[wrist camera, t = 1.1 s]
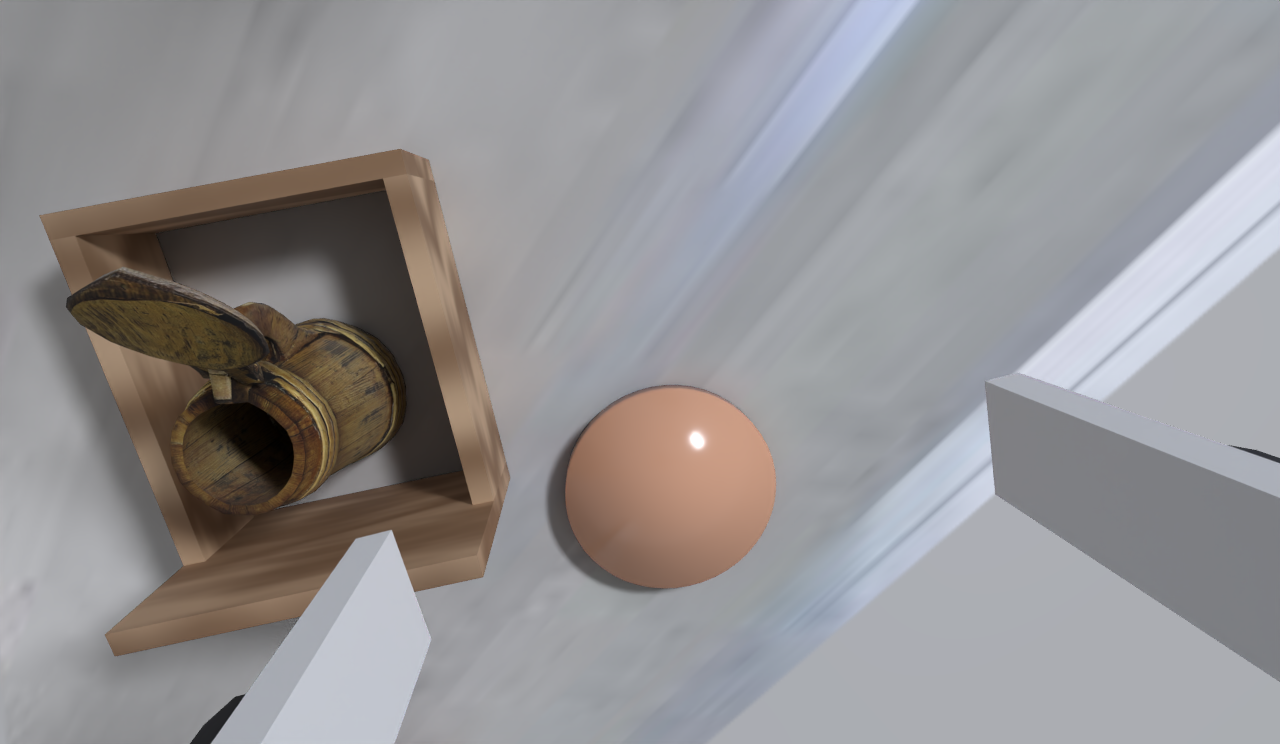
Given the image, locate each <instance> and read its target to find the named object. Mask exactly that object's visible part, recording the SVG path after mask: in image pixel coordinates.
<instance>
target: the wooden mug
mask: <svg viewBox="0 0 1280 744" xmlns="http://www.w3.org/2000/svg"><path fill="white" fill-rule="evenodd" d="M66 308H67V309H68V310H69V311H70V313H71V314H72V315H73V316H74V318H75V319H76V320H77V321H78V322H79V323H80V324H81V325H82V326H84V327H86V328H87V329H89V330H91V331H92V332H94V333H96V334H98V335H99V336H101V337H103V338H105V339H106V340H108V341H110V342H112V343H115V344H117V345H120V346H123V347H125V348H128V349H130V350H133V351H136V352H139V353H142V354H145V355H148V356H150V357H154V358H158V359H163V360H167V361H171V362H175V363H179V364H184V365H189V366H190V367H192V368H193V369H195V370H196V371H197V372H198V373H199V374H200V375H201V376H202V377H203V378H205V379H210V380H208V381H207V382H206V383H205V384H204V385H203V386H202V387H201V388H200V389H199V390H198V391H197V393H196V394H195V395H194V396H193V397H192V398H191V400H190V401H189V402H188V404H187V407H186V409H185V411H184V412H183V413H182V414H181V415H180V416H178V418H177V421H176V423H175V425H174V427H173V430H172V434H171V442H170V448H171V459H172V465H173V467H174V470H175V472H176V474H177V477H178V479H179V482H180V483H181V484H182V485H183V486H184V487H185V488H186V489H187V490H188V491H189V493H190V494H192V495H193V496H195V497H196V498H197V499H199V500H200V501H202V502H203V503H204V504H206V505H207V506H209V507H211V508H213V509H215V510H217V511H219V512H221V513H223V514H233V515H258V514H262V513H265V512H269V511H272V510H273V509H275V508H277V507H280V506H284V505H287V504H290V503H293V502H296V501H298V500H301V499H302V498H304V497H306V496H307V495H309V494H311V493H313V492H314V491H316V490H317V489H318V488H319V487H320V486H321V485H322V484H323V483H324V482H325V481H326V480H327V479H328V477H329V476H330V475H332V474H333V473H335V472H337V471H338V470H340V469H342V468H343V467H345V466H347V465H348V464H350V463H354V462H356V461H358V460H360V459H362V458H364V457H366V456H368V455H370V454H372V453H374V452H376V451H377V450H379V449H381V448H382V447H383V446H384V445H385V444H386V443H388V442H389V441H390V440H391V439H392V438H393V437H394V436H395V434H396V433H397V431H398V429H399V428H400V426H401V425H402V423H403V420H404V415H405V410H406V390H405V384H404V381H403V377H402V373H401V371H400V369H399V367H398V365H397V363H396V361H395V359H394V357H393V355H392V354H391V353H390V352H389V351H388V350H387V349H386V348H385V346H384V345H383V344H382V343H381V342H380V341H379V340H378V339H377V338H375V337H374V336H372V335H370V334H368V333H366V332H365V331H363V330H361V329H359V328H357V327H355V326H352V325H348V324H345V323H342V322H339V321H336V320H330V319H325V318H320V319H311V320H308V321H305V322H302V323H298V324H296V325H295V324H293V323H292V322H291V321H290V320H288V319H287V318H286V317H285V316H284V315H282V314H281V313H279V312H278V311H276V310H275V309H273V308H271V307H270V306H268V305H265V304H262V303H253V302H248V303H246V304H243V305H241V306H239V307H236V308H234V309H233V308H231V307H230V306H228V305H226V304H224V303H222V302H220V301H218V300H216V299H214V298H212V297H210V296H208V295H206V294H204V293H202V292H199V291H197V290H194V289H192V288H189V287H187V286H184V285H182V284H179V283H176V282H173V281H169V280H166V279H163V278H159V277H156V276H153V275H149V274H146V273H143V272H139V271H136V270H133V269H129V268H126V267H121V268H119V269H116V270H114V271H111V272H109V273H107V274H104V275H103V276H101V277H99V278H98V279H96V280H95V281H93V282H91V283H90V284H88V285H86V286H85V287H83V288H82V289H80V290H78V291H77V292H75V293H74V294H72V295H71V296H70V297H68V298H67V303H66Z"/></svg>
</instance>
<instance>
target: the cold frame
mask: <svg viewBox="0 0 1280 744" xmlns="http://www.w3.org/2000/svg"><path fill="white" fill-rule="evenodd" d="M384 190H386V191H387V195H388V199H389V202H390V206H391V210H392V213H393V217H394V220H395V224H396V228H397V231H398V235H399V239H400V242H401V246H402V250H403V253H404V257H405V260H406V264H407V268H408V271H409V275H410V279H411V282H412V286H413V289H414V293H415V297H416V300H417V304H418V308H419V311H420V315H421V319H422V322H423V326H424V329H425V333H426V337H427V340H428V344H429V348H430V351H431V355H432V358H433V362H434V366H435V369H436V373H437V377H438V380H439V384H440V388H441V391H442V395H443V398H444V402H445V406H446V409H447V413H448V417H449V420H450V424H451V427H452V431H453V435H454V438H455V442H456V446H457V449H458V453H459V457H460V460H461V464H462V467H463V470H462V471H458V472H453V473H448V474H443V475H438V476H433V477H429V478H424V479H419V480H414V481H409V482H405V483H400V484H395V485H390V486H385V487H380V488H376V489H371V490H366V491H361V492H356V493H352V494H347V495H342V496H337V497H332V498H327V499H323V500H318V501H313V502H308V503H303V504H299V505H294V506H289V507H284V508H279V509H275V510H272V511H269V512H265V513H262V514H258V515H233V514H223V513H221V512H219V511H217V510H215V509H213V508H211V507H209V506H207V505H206V504H204V503H203V502H202V501H200V500H199V499H197V498H196V497H195V496H193V495H192V494H190V493H189V491H188V490H187V489H186V488H185V487H184V486H183V485H182V484H181V483H180V482H179V479H178V477H177V474H176V472H175V470H174V467H173V465H172V459H171V448H170V442H171V434H172V430H173V427H174V425H175V423H176V421H177V418H178V416H180V415H181V414H182V413H183V412H184V411H185V409H186V407H187V404H188V402H189V401H190V400H191V398H192V397H193V396H194V395H195V394H196V393H197V391H198V390H199V389H200V388H201V387H202V386H203V385H204V384H205V383H206V382H207V381H208V380H210V379H205V378H203V377H202V376H201V375H200V374H199V373H198V372H197V371H196V370H195V369H193V368H192V367H190V366H189V365H184V364H179V363H175V362H171V361H167V360H163V359H158V358H154V357H150V356H148V355H145V354H142V353H139V352H136V351H133V350H130V349H128V348H125V347H123V346H120V345H117V344H115V343H112V342H110V341H108V340H106V339H105V338H103V337H101V336H99V335H98V334H96V333H94V332H92V331H91V330H89V329H87V328H86V330H87V332H88V335H89V337H90V340H91V342H92V344H93V347H94V349H95V352H96V354H97V357H98V359H99V361H100V364H101V366H102V369H103V371H104V374H105V376H106V378H107V381H108V383H109V386H110V388H111V391H112V393H113V395H114V398H115V400H116V403H117V405H118V408H119V410H120V412H121V415H122V417H123V420H124V422H125V425H126V427H127V429H128V432H129V434H130V437H131V439H132V442H133V444H134V446H135V449H136V451H137V454H138V456H139V459H140V461H141V463H142V466H143V468H144V471H145V473H146V476H147V478H148V480H149V483H150V485H151V488H152V490H153V493H154V495H155V497H156V500H157V502H158V505H159V507H160V510H161V512H162V514H163V517H164V519H165V522H166V524H167V527H168V529H169V531H170V534H171V536H172V539H173V541H174V544H175V546H176V548H177V551H178V553H179V556H180V558H181V561H182V563H183V565H184V566H183V567H182V568H181V569H180V570H178V571H177V572H176V573H175V574H174V575H173V576H172V577H170V578H169V579H168V580H167V581H166V582H165V583H163V584H162V585H161V586H160V587H159V588H158V589H157V590H155V591H154V592H153V593H152V594H151V595H150V596H149V597H147V598H146V599H145V600H144V601H143V602H142V603H141V604H139V605H138V606H137V607H136V608H135V609H134V610H133V611H131V612H130V613H129V614H128V615H127V616H126V617H124V618H123V619H122V620H121V621H120V622H119V623H118V624H116V625H115V626H114V627H113V628H112V629H111V630H110V631H108V632H107V633H106V634H105V636H106V638H107V641H108V643H109V645H110V647H111V649H112V651H113V654H114V656H119V655H124V654H129V653H133V652H138V651H143V650H147V649H152V648H156V647H161V646H166V645H170V644H175V643H180V642H184V641H189V640H194V639H198V638H203V637H207V636H212V635H217V634H221V633H226V632H231V631H235V630H240V629H245V628H249V627H254V626H259V625H263V624H268V623H272V622H277V621H282V620H286V619H291V618H296V617H300V616H301V615H302V614H303V613H304V611H305V610H306V608H307V607H308V606H309V604H310V603H311V601H312V600H313V599H314V597H315V596H316V594H317V593H318V591H319V590H320V589H321V587H322V586H323V584H324V583H325V582H326V580H327V579H328V577H329V576H330V574H331V573H332V572H333V570H334V569H335V567H336V566H337V565H338V563H339V562H340V560H341V559H342V558H343V556H344V555H345V553H346V552H347V550H348V549H349V548H350V546H351V545H352V543H353V542H354V541H355V539H357V538H361V537H365V536H369V535H373V534H377V533H381V532H385V531H389V530H392V532H393V535H394V538H395V541H396V543H397V546H398V549H399V552H400V554H401V557H402V560H403V563H404V565H405V568H406V571H407V574H408V576H409V579H410V582H411V585H412V587H413V590H414V592H416V591H421V590H426V589H430V588H435V587H440V586H444V585H449V584H454V583H458V582H463V581H467V580H472V579H477V578H481V577H483V576H484V572H485V569H486V565H487V561H488V558H489V554H490V550H491V547H492V543H493V539H494V536H495V532H496V528H497V525H498V521H499V517H500V514H501V510H502V506H503V503H504V499H505V495H506V492H507V488H508V484H509V481H510V475H509V471H508V467H507V464H506V460H505V456H504V452H503V448H502V444H501V440H500V436H499V432H498V428H497V424H496V421H495V417H494V413H493V409H492V405H491V401H490V397H489V393H488V389H487V385H486V382H485V378H484V374H483V370H482V366H481V362H480V358H479V354H478V350H477V346H476V343H475V339H474V335H473V331H472V327H471V323H470V319H469V315H468V311H467V307H466V303H465V300H464V296H463V292H462V288H461V284H460V280H459V276H458V272H457V268H456V264H455V261H454V257H453V253H452V249H451V245H450V241H449V237H448V233H447V229H446V225H445V221H444V218H443V214H442V210H441V206H440V202H439V198H438V194H437V190H436V186H435V182H434V179H433V175H432V171H431V167H430V163H429V160H427V159H425V158H422V157H420V156H417V155H415V154H412V153H410V152H407V151H404V150H402V149H397V150H392V151H386V152H381V153H375V154H370V155H364V156H359V157H354V158H348V159H343V160H337V161H332V162H326V163H321V164H316V165H310V166H305V167H299V168H294V169H289V170H283V171H278V172H272V173H267V174H261V175H256V176H251V177H245V178H240V179H234V180H229V181H223V182H218V183H213V184H207V185H202V186H196V187H191V188H185V189H180V190H175V191H169V192H164V193H158V194H153V195H147V196H142V197H137V198H131V199H126V200H120V201H115V202H109V203H104V204H99V205H93V206H88V207H82V208H77V209H72V210H66V211H61V212H55V213H50V214H44V215H39V216H40V218H41V221H42V223H43V225H44V228H45V230H46V233H47V235H48V238H49V240H50V242H51V245H52V247H53V250H54V252H55V255H56V257H57V259H58V262H59V264H60V267H61V269H62V272H63V274H64V276H65V279H66V281H67V284H68V286H69V289H70V291H71V293H72V294H74V293H75V292H77V291H78V290H80V289H82V288H83V287H85V286H86V285H88V284H90V283H91V282H93V281H95V280H96V279H98V278H99V277H101V276H103V275H104V274H107V273H109V272H111V271H114V270H116V269H119V268H121V267H126V268H129V269H133V270H136V271H139V272H143V273H146V274H149V275H153V276H156V277H159V278H163V279H166V280H169V281H173V279H172V277H171V274H170V271H169V268H168V266H167V263H166V260H165V258H164V255H163V252H162V250H161V247H160V244H159V241H158V239H157V236H156V233H159V232H165V231H170V230H175V229H181V228H186V227H191V226H197V225H202V224H208V223H213V222H218V221H224V220H229V219H234V218H240V217H245V216H250V215H256V214H261V213H266V212H272V211H277V210H282V209H288V208H293V207H298V206H304V205H309V204H314V203H320V202H325V201H330V200H336V199H341V198H347V197H352V196H357V195H363V194H368V193H373V192H379V191H384Z"/></svg>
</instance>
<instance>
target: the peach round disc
mask: <svg viewBox="0 0 1280 744" xmlns="http://www.w3.org/2000/svg"><path fill="white" fill-rule="evenodd" d="M775 493H776V476H775V469H774V464H773V459H772V456H771V454H770V451H769V448H768V446H767V444H766V442H765V441H764V439H763V437H762V435H761V434H760V433H759V431H758V430H757V429H756V427H755V426H754V425H753V423H752V422H751V421H750V420H749V419H748V418H747V417H746V416H745V415H744V414H743V413H742V412H741V410H740V409H738V408H737V407H736V406H734V405H733V404H732V403H730V402H729V401H727V400H726V399H724V398H722V397H720V396H719V395H717V394H714V393H712V392H709V391H707V390H703V389H699V388H695V387H691V386H682V385H662V386H655V387H649V388H646V389H642V390H638V391H635V392H633V393H631V394H628V395H626V396H624V397H622V398H620V399H618V400H617V401H615V402H613V403H612V404H610V405H609V406H608V407H606V408H605V409H604V410H602V411H601V412H600V413H599V414H598V415H597V416H596V417H595V418H594V419H593V420H592V421H591V422H590V423H589V424H588V426H587V427H586V428H585V429H584V431H583V432H582V434H581V435H580V437H579V439H578V441H577V442H576V444H575V447H574V449H573V451H572V454H571V456H570V460H569V464H568V468H567V475H566V486H565V502H566V509H567V515H568V519H569V522H570V525H571V528H572V530H573V532H574V534H575V537H576V539H577V540H578V542H579V543H580V545H581V546H582V548H583V549H584V551H585V552H586V553H587V554H588V555H589V556H590V557H591V559H592V560H593V561H595V562H596V563H597V564H598V565H599V566H600V567H602V568H603V569H604V570H606V571H608V572H609V573H611V574H612V575H614V576H616V577H618V578H620V579H622V580H624V581H627V582H630V583H633V584H636V585H641V586H646V587H652V588H678V587H684V586H690V585H694V584H697V583H701V582H704V581H706V580H709V579H711V578H714V577H716V576H717V575H719V574H721V573H723V572H725V571H726V570H728V569H729V568H731V567H732V566H733V565H735V564H736V563H738V562H739V561H740V560H741V559H742V558H743V557H744V556H745V555H746V554H747V553H748V552H749V551H750V550H751V549H752V547H753V546H754V545H755V544H756V542H757V541H758V539H759V538H760V536H761V535H762V533H763V531H764V529H765V527H766V525H767V523H768V521H769V519H770V516H771V513H772V510H773V505H774V500H775Z"/></svg>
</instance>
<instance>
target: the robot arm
mask: <svg viewBox="0 0 1280 744" xmlns="http://www.w3.org/2000/svg"><path fill="white" fill-rule="evenodd" d="M985 389H986V399H987V410H988V421H989V431H990V442H991V453H992V463H993V474H994V485H995V494H996V495H997V496H999V497H1000V498H1002V499H1003V500H1005V501H1006V502H1008V503H1009V504H1011V505H1012V506H1014V507H1015V508H1017V509H1018V510H1020V511H1021V512H1023V513H1024V514H1026V515H1027V516H1029V517H1030V518H1032V519H1033V520H1035V521H1037V522H1038V523H1040V524H1041V525H1043V526H1044V527H1046V528H1047V529H1049V530H1050V531H1052V532H1053V533H1055V534H1056V535H1058V536H1059V537H1061V538H1062V539H1064V540H1065V541H1067V542H1068V543H1070V544H1071V545H1073V546H1075V547H1076V548H1078V549H1079V550H1080V551H1082V552H1084V553H1085V554H1087V555H1088V556H1090V557H1091V558H1093V559H1095V560H1096V561H1097V562H1099V563H1100V564H1102V565H1103V566H1105V567H1106V568H1108V569H1109V570H1111V571H1112V572H1114V573H1115V574H1117V575H1119V576H1120V577H1121V578H1123V579H1125V580H1126V581H1128V582H1129V583H1131V584H1132V585H1134V586H1135V587H1137V588H1138V589H1140V590H1141V591H1143V592H1144V593H1146V594H1147V595H1149V596H1150V597H1152V598H1154V599H1155V600H1157V601H1158V602H1159V603H1161V604H1162V605H1164V606H1166V607H1167V608H1169V609H1170V610H1172V611H1173V612H1175V613H1176V614H1178V615H1179V616H1181V617H1182V618H1184V619H1185V620H1187V621H1188V622H1190V623H1191V624H1193V625H1194V626H1196V627H1197V628H1199V629H1200V630H1202V631H1203V632H1205V633H1207V634H1208V635H1209V636H1211V637H1213V638H1214V639H1216V640H1217V641H1219V642H1220V643H1222V644H1223V645H1225V646H1226V647H1228V648H1229V649H1231V650H1232V651H1234V652H1235V653H1237V654H1238V655H1240V656H1241V657H1243V658H1244V659H1246V660H1247V661H1249V662H1251V663H1252V664H1253V665H1255V666H1257V667H1258V668H1260V669H1261V670H1263V671H1264V672H1266V673H1267V674H1269V675H1270V676H1272V677H1273V678H1275V679H1276V680H1278V681H1279V682H1280V458H1278V457H1275V456H1271V455H1269V454H1266V453H1263V452H1260V451H1257V450H1252V449H1247V448H1241V447H1236V446H1230V445H1225V444H1222V443H1219V442H1217V441H1214V440H1211V439H1208V438H1205V437H1202V436H1199V435H1196V434H1193V433H1191V432H1188V431H1185V430H1182V429H1179V428H1176V427H1173V426H1171V425H1168V424H1165V423H1162V422H1159V421H1156V420H1153V419H1150V418H1147V417H1144V416H1142V415H1139V414H1136V413H1133V412H1130V411H1127V410H1124V409H1122V408H1119V407H1115V406H1113V405H1110V404H1107V403H1104V402H1101V401H1098V400H1096V399H1093V398H1090V397H1087V396H1084V395H1081V394H1078V393H1075V392H1072V391H1070V390H1067V389H1064V388H1061V387H1058V386H1055V385H1052V384H1049V383H1047V382H1044V381H1041V380H1038V379H1035V378H1032V377H1029V376H1026V375H1023V374H1021V373H1015V374H1011V375H1007V376H1003V377H999V378H995V379H991V380H987V381H985ZM430 642H431V637H430V634H429V632H428V629H427V626H426V623H425V621H424V618H423V615H422V612H421V609H420V607H419V604H418V601H417V598H416V596H415V593H414V590H413V587H412V585H411V582H410V579H409V576H408V574H407V571H406V568H405V565H404V563H403V560H402V557H401V554H400V552H399V549H398V546H397V543H396V541H395V538H394V535H393V532H392V530H389V531H385V532H381V533H377V534H373V535H369V536H365V537H361V538H357V539H355V541H354V542H353V543H352V545H351V546H350V548H349V549H348V550H347V552H346V553H345V555H344V556H343V558H342V559H341V560H340V562H339V563H338V565H337V566H336V567H335V569H334V570H333V572H332V573H331V574H330V576H329V577H328V579H327V580H326V582H325V583H324V584H323V586H322V587H321V589H320V590H319V591H318V593H317V594H316V596H315V597H314V599H313V600H312V601H311V603H310V604H309V606H308V607H307V608H306V610H305V611H304V613H303V614H302V615H301V617H300V618H299V620H298V621H297V623H296V624H295V625H294V627H293V628H292V630H291V631H290V632H289V634H288V635H287V637H286V638H285V640H284V641H283V642H282V644H281V645H280V647H279V648H278V649H277V651H276V652H275V654H274V655H273V657H272V658H271V659H270V661H269V662H268V664H267V665H266V666H265V668H264V669H263V671H262V672H261V673H260V675H259V676H258V678H257V679H256V681H255V682H254V683H253V685H252V686H251V688H250V689H249V690H248V692H247V693H246V694H245V695H241V696H237V697H235V698H233V699H232V700H231V701H230V702H229V703H228V704H227V705H226V706H224V707H223V708H222V709H221V710H220V711H219V712H218V713H217V714H216V715H214V716H213V717H212V718H211V719H210V720H209V721H208V722H207V723H206V724H204V726H203V727H202V728H201V730H200V731H199V732H198V734H197V735H196V736H195V738H194V739H193V740H192V742H191V743H190V744H394V743H395V740H396V738H397V735H398V732H399V729H400V726H401V724H402V721H403V718H404V715H405V712H406V710H407V707H408V704H409V701H410V698H411V696H412V693H413V690H414V687H415V684H416V681H417V679H418V676H419V673H420V670H421V667H422V665H423V662H424V659H425V656H426V653H427V651H428V648H429V645H430Z"/></svg>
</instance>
